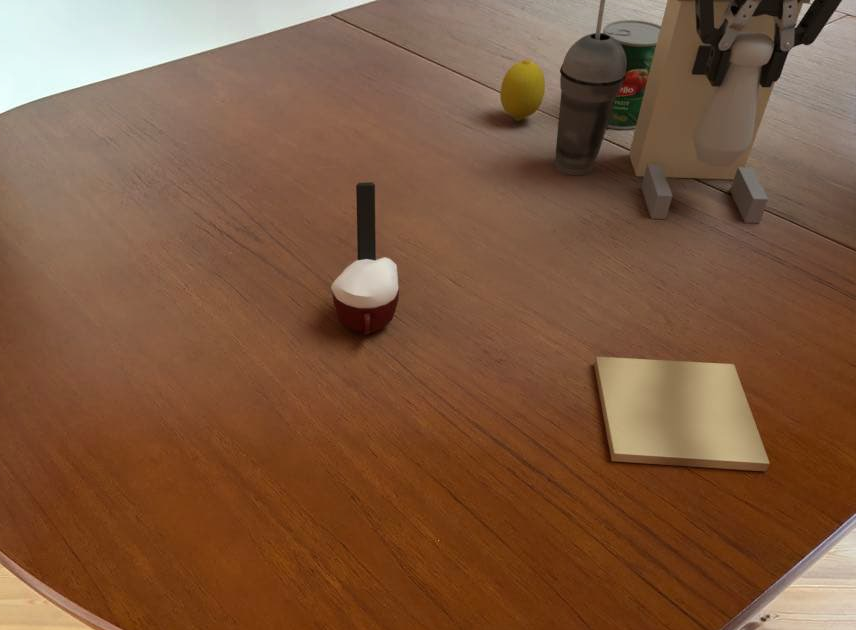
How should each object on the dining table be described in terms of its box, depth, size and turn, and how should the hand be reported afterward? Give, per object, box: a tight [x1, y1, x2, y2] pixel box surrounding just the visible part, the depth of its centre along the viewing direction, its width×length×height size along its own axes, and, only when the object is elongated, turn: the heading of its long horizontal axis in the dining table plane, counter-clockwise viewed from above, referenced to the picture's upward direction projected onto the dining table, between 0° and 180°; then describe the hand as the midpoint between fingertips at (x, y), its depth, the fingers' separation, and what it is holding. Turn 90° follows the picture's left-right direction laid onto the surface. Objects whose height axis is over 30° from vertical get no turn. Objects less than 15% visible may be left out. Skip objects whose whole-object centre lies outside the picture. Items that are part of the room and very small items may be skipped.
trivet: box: [593, 356, 771, 472], centre depth 73 cm, size 12×12×1 cm
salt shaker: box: [693, 32, 774, 167], centre depth 89 cm, size 6×6×13 cm
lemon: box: [499, 58, 546, 121], centre depth 111 cm, size 6×6×8 cm
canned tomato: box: [602, 19, 661, 131], centre depth 110 cm, size 8×8×11 cm
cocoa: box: [330, 181, 400, 335], centre depth 79 cm, size 10×6×12 cm, turn 156°
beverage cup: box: [554, 0, 626, 176], centre depth 97 cm, size 7×7×20 cm
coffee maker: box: [628, 0, 811, 224], centre depth 92 cm, size 13×15×23 cm
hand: (739, 83), depth 88 cm, fingers closed on salt shaker, 4 cm apart
